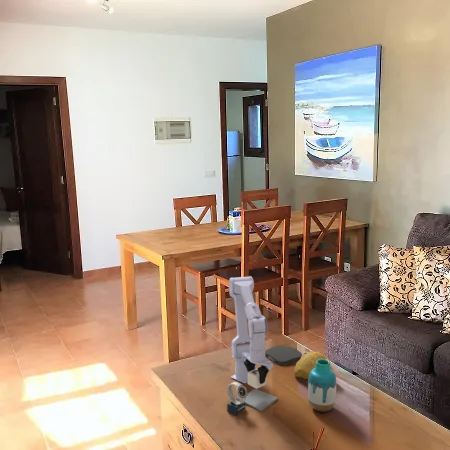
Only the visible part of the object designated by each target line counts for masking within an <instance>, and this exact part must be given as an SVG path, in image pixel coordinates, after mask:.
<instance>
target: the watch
mask: <svg viewBox="0 0 450 450" xmlns="http://www.w3.org/2000/svg"><path fill="white" fill-rule="evenodd" d="M232 386H234V389H235V395H236V397H235V395H234V392H233V388H232ZM226 391H227V392H226V393H227V396H228V398H229V400H230V402H228V403H227V404H226V405H227V406H226V408H227V409H226V411H227V412H228V413H230V414H232V415H234V416H237V415H239V414H240V413H242V412H244V411H245V410H246V404H245V402H244V401H245V400H246V396H247V394H248V389H247V387H246V386H245V385H243V384H242V382H239V381H233V382H231V383H229V384H228V386H227V390H226Z"/></svg>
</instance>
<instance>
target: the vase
mask: <svg viewBox="0 0 450 450" xmlns="http://www.w3.org/2000/svg"><path fill="white" fill-rule="evenodd" d="M326 359H327V358H326ZM326 359H318V360H317V361H316V365H315V368H314V369H312V370H311V372H310V374H309V379H307V397H308V399H307V400H308V403H309V405H310V407H311V408H312V409H314V410H315V411H318V412H328V411H330V410H332V409H333V407H334V406H335V403H336V398H337V375H336V373H335V371H334V370H333V371H332V370H331V369H330V365H331V362H330V361H329V360H328V359H327V360H326Z"/></svg>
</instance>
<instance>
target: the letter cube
mask: <svg viewBox="0 0 450 450" xmlns="http://www.w3.org/2000/svg"><path fill="white" fill-rule="evenodd" d="M257 368H258V367H257ZM257 368H256V369H254V370H252V371H249V372H248V382H247V385H249V386H250V387H252V388H254V389H257V390H258V389H259V388H262V387H264V386H265V385H266V384H267V383H266V380H267V379H265V383H263V384H260V379H259V372H258V369H257Z"/></svg>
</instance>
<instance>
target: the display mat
mask: <svg viewBox="0 0 450 450" xmlns="http://www.w3.org/2000/svg"><path fill="white" fill-rule="evenodd" d="M276 401H278V397H276V396H275V395H273V394H269V393H268V392H265V391H262V390H260V389H258V388H257V389H256V388H254V389H252V390H251V391H249V392H247V396H246V400H245V401H244V402H245V406H249V407H251V408H253V409H255V410H256V411H257V410H258V411H260V412H262V411H264V410H265V409H267V408H268V407H269V406H271V405H272V404H273V403H275V402H276Z"/></svg>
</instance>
